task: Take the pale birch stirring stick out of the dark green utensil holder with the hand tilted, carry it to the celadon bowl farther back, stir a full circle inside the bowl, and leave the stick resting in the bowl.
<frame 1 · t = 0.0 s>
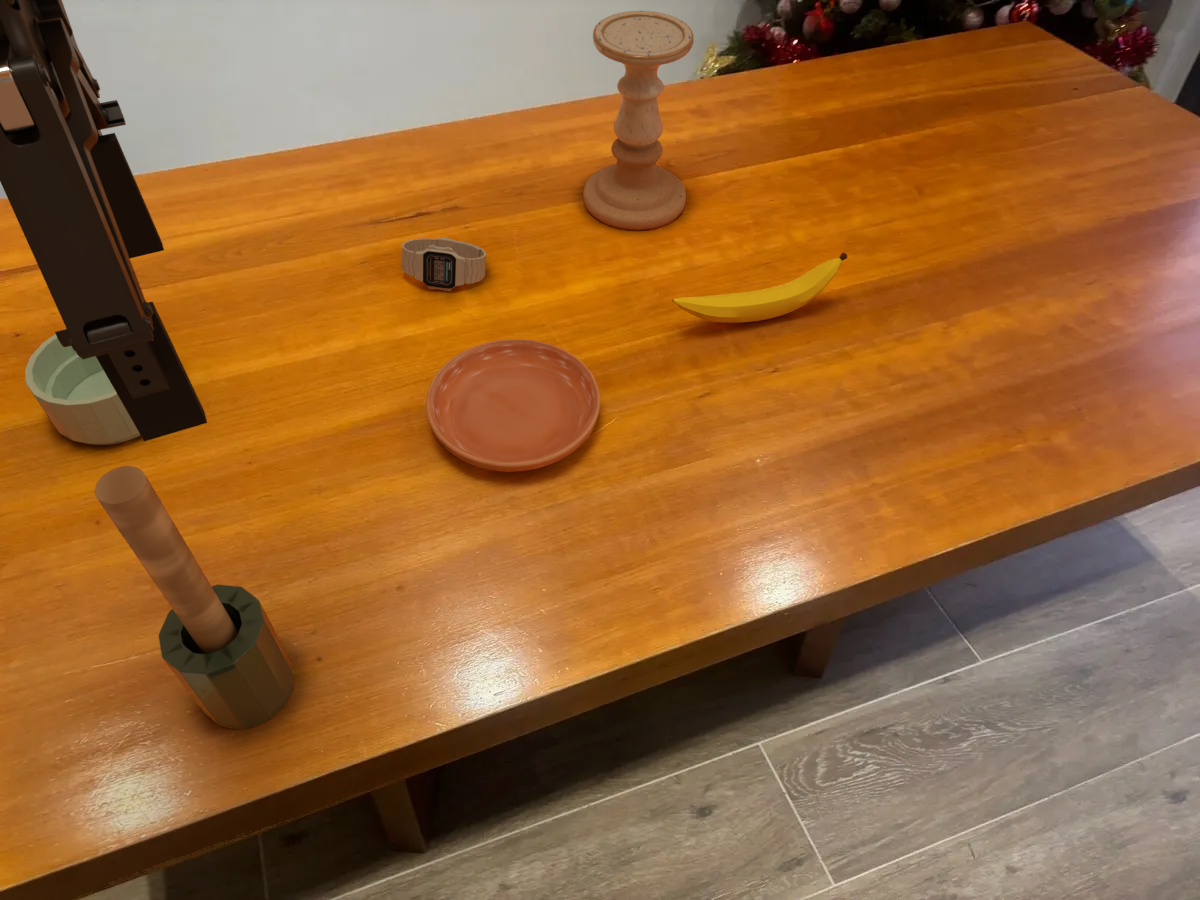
hand: (154, 332, 44), 33 cm above the table, tool pointing down, fingers open, 13 cm apart
bowl: (119, 404, 85), on the table
banana: (752, 319, 95), on the table
saucer: (515, 420, 85), on the table
wristwatch: (446, 274, 99), on the table
candle holder: (634, 201, 108), on the table
stick: (246, 683, 67), point 1 cm above the table, touching holder
holder: (249, 686, 67), on the table
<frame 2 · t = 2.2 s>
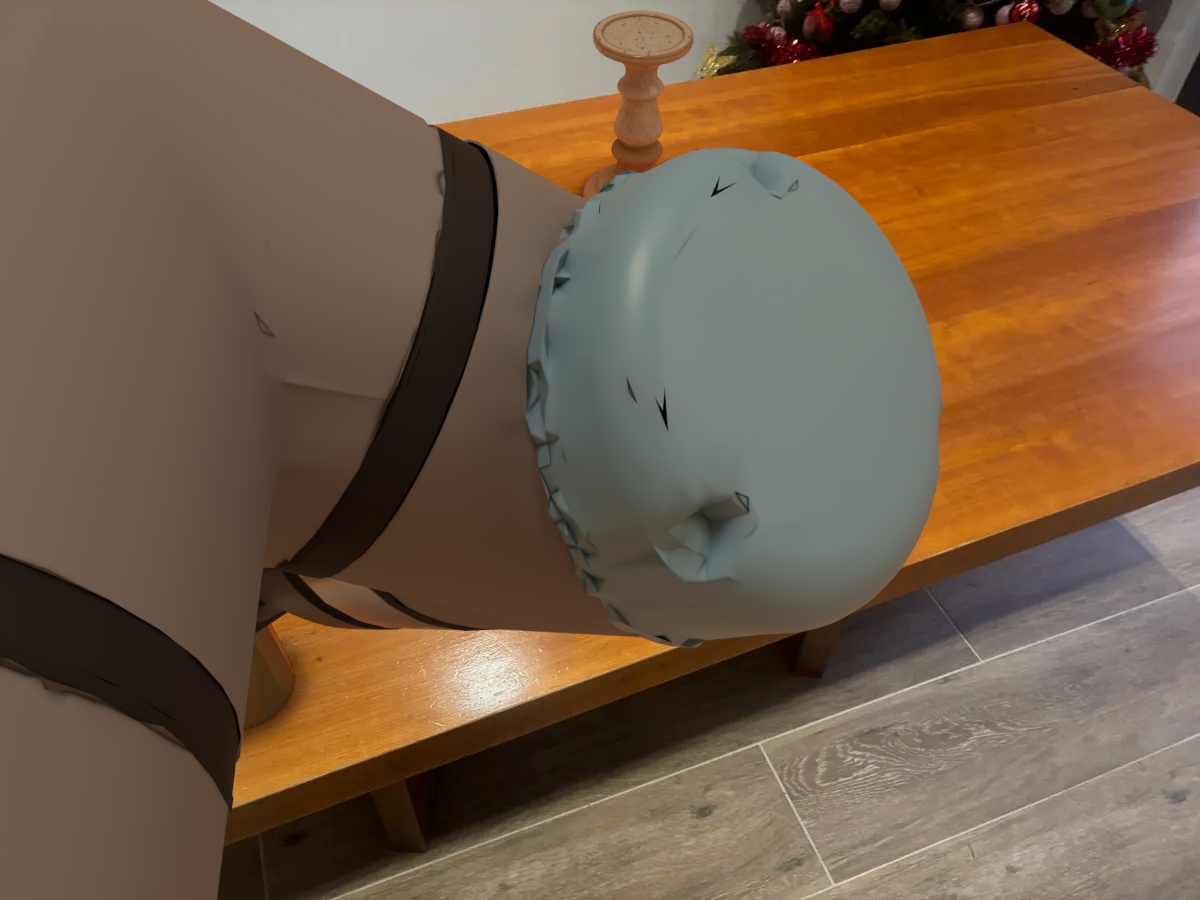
hand: (221, 543, 42), 28 cm above the table, tool tilted 45°, fingers open, 13 cm apart
nothing on the table moved.
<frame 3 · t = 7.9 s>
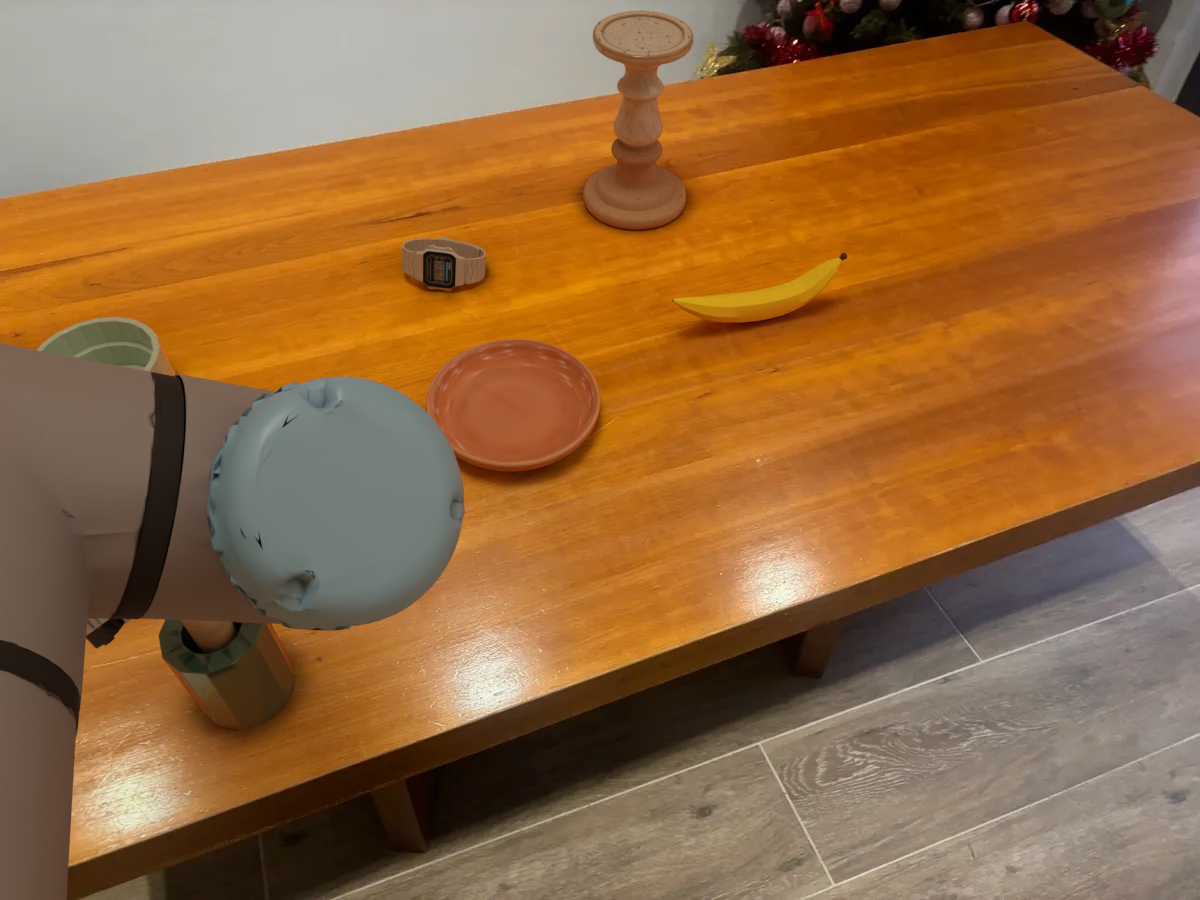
hand: (142, 546, 57), 15 cm above the table, tool tilted 45°, fingers closed on stick, 2 cm apart
stick: (246, 683, 67), point 1 cm above the table, touching gripper, holder
everything else where it was.
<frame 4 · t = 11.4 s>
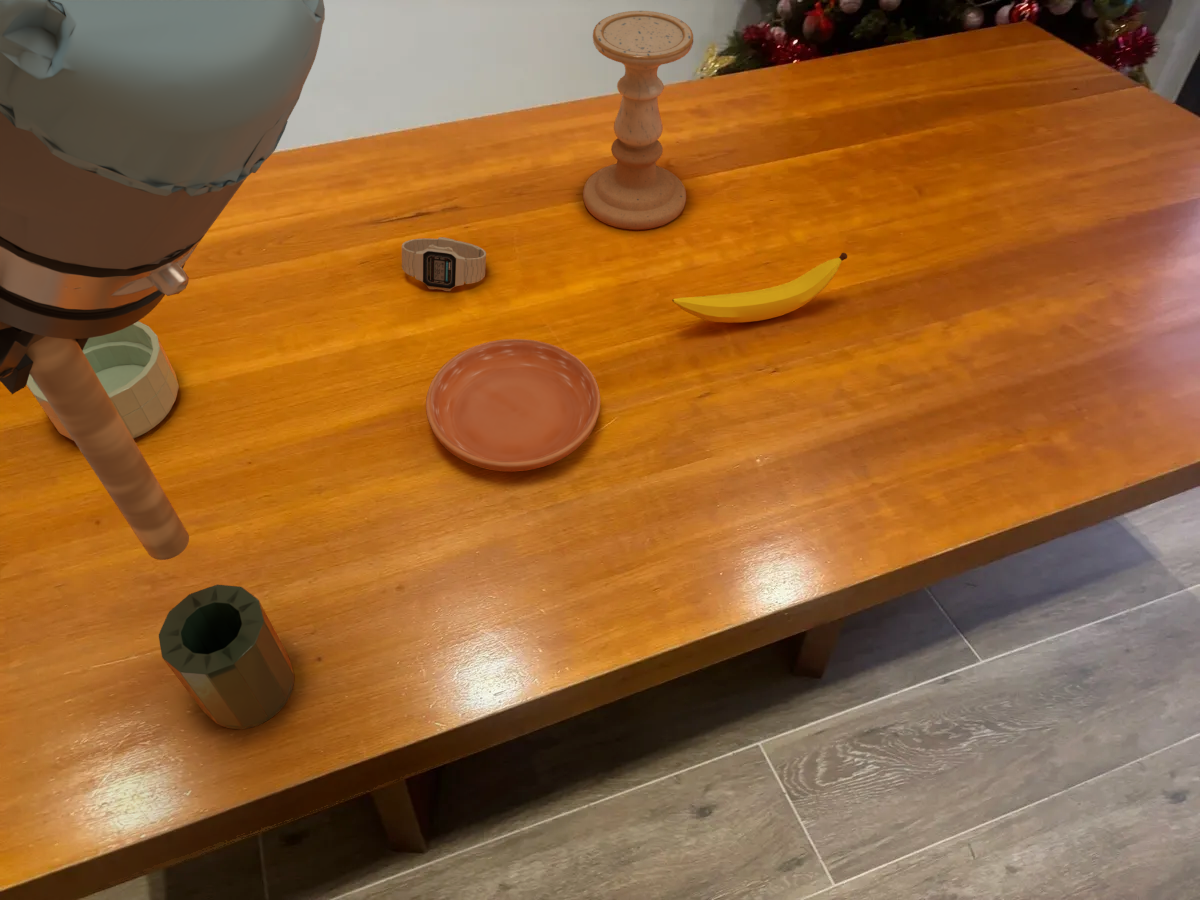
hand: (29, 352, 48), 29 cm above the table, tool tilted 45°, fingers closed on stick, 2 cm apart
stick: (168, 543, 58), point 15 cm above the table, touching gripper
everything else where it was.
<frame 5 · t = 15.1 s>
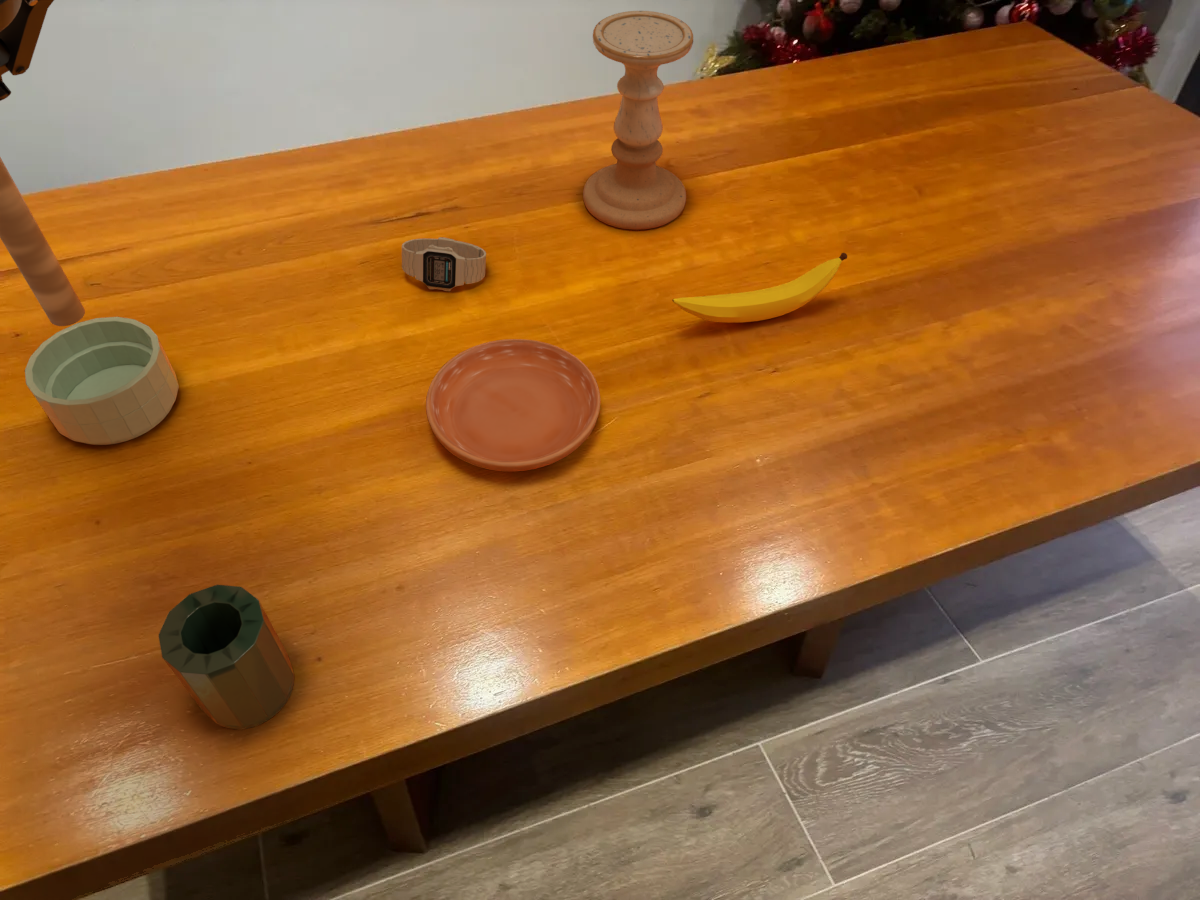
stick: (67, 315, 71), point 15 cm above the table, touching gripper
everything else where it was.
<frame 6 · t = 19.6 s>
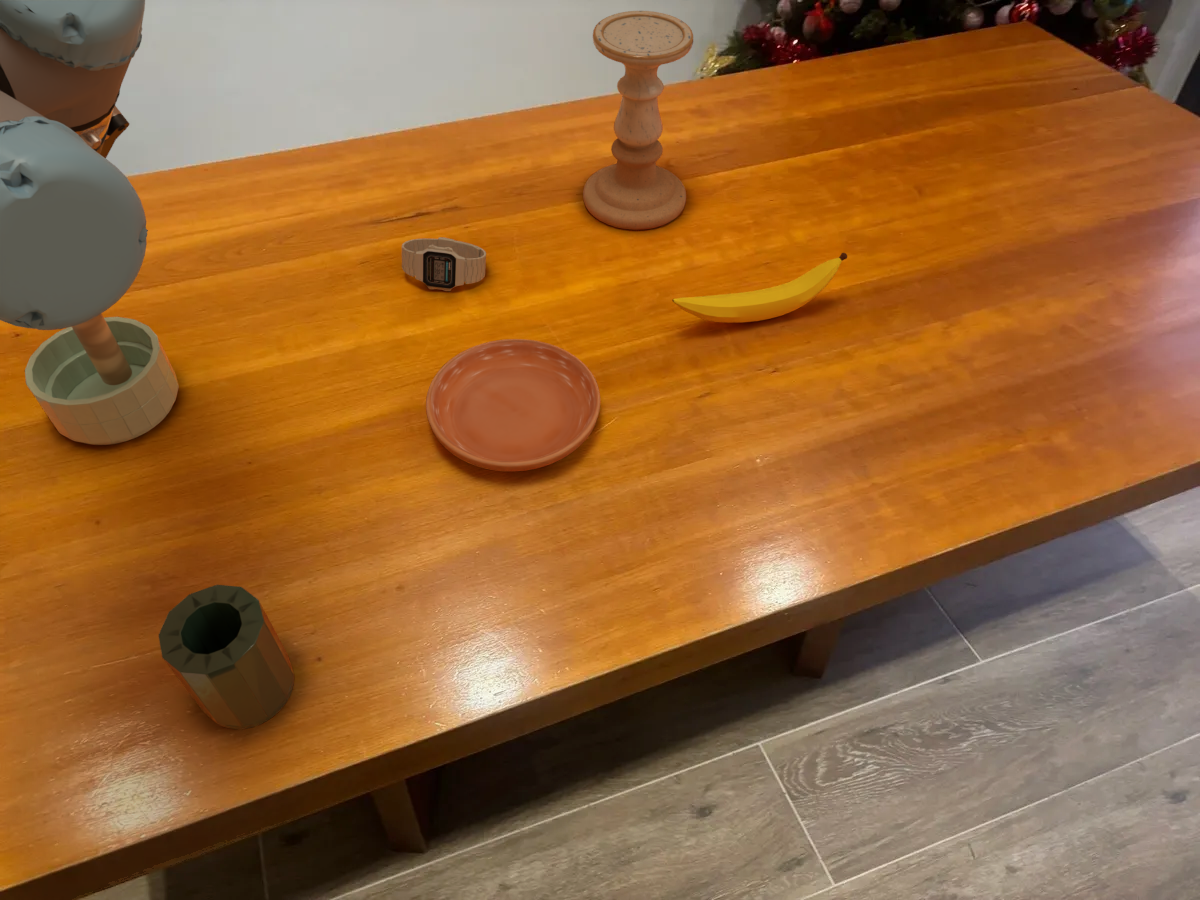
hand: (18, 228, 73), 18 cm above the table, tool tilted 45°, fingers closed on stick, 2 cm apart
stick: (117, 375, 83), point 3 cm above the table, touching gripper
everything else where it was.
when the fingers open (15 cm above the table, at t = 22.6 s): stick stays where it is, resting on bowl.
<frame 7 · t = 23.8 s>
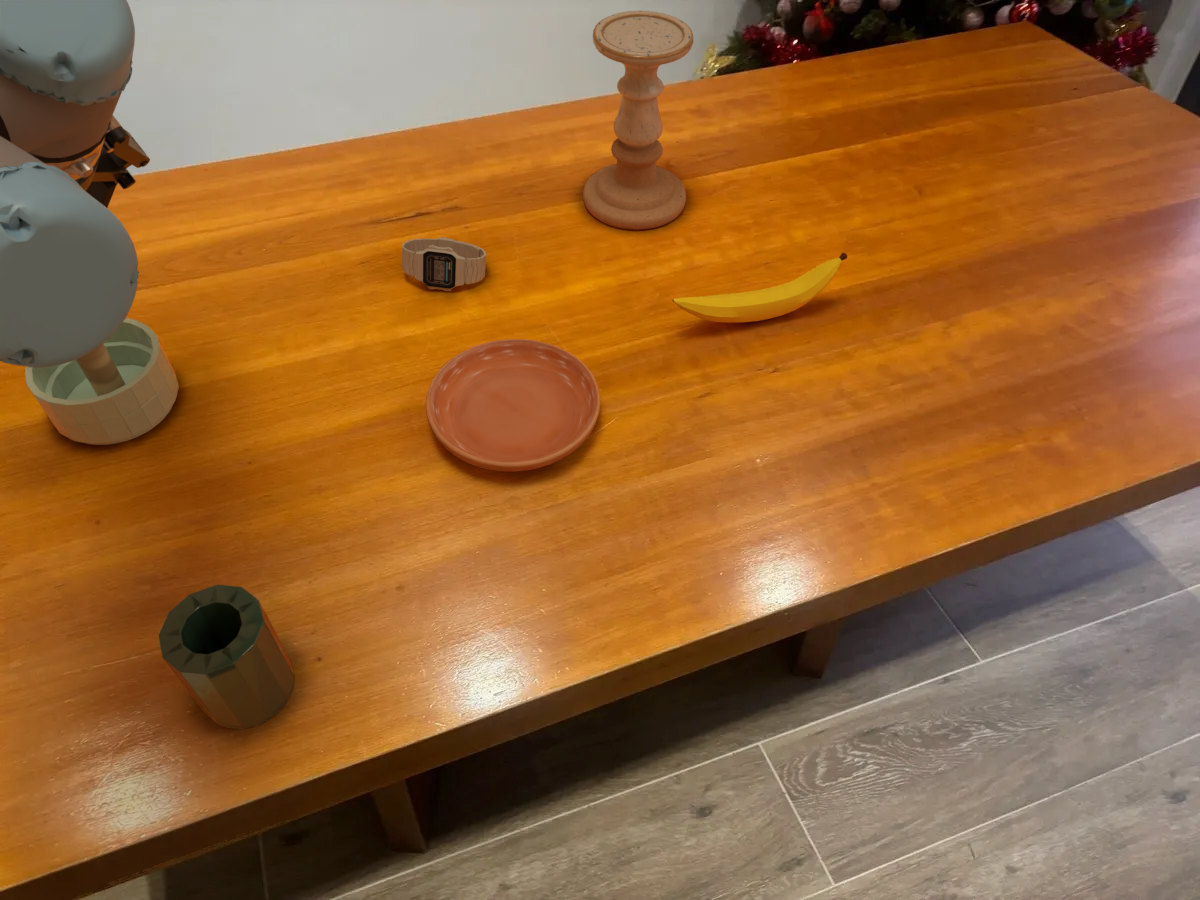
hand: (14, 239, 72), 18 cm above the table, tool tilted 45°, fingers open, 13 cm apart
stick: (116, 398, 85), point 1 cm above the table, touching bowl
everything else where it was.
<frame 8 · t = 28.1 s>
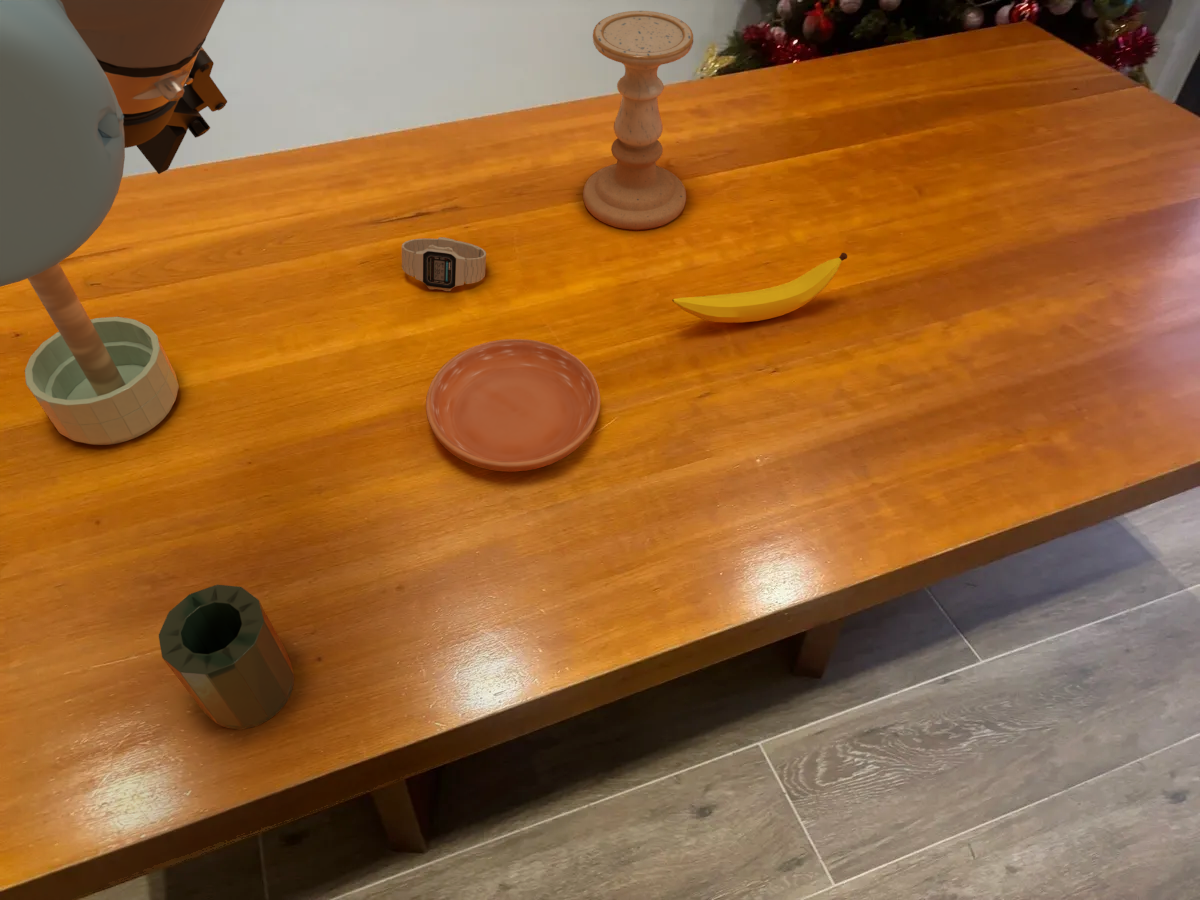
hand: (61, 199, 60), 28 cm above the table, tool tilted 45°, fingers open, 13 cm apart
nothing on the table moved.
at the end: stick inside the target area in the bowl (0.1 cm from its centre), point 0.8 cm above the bowl's base; the gripper is holding nothing; stick moved 34.4 cm from its start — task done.
